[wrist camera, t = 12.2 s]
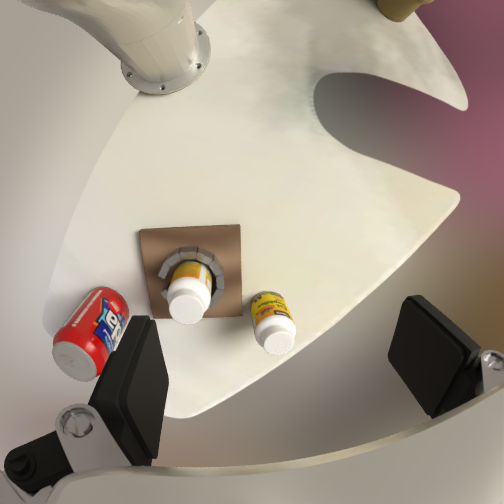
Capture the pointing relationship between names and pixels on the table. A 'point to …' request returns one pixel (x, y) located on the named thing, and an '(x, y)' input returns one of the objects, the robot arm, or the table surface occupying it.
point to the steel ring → (201, 256)
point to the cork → (399, 8)
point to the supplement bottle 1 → (189, 291)
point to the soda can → (90, 334)
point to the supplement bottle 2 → (272, 323)
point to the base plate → (170, 239)
